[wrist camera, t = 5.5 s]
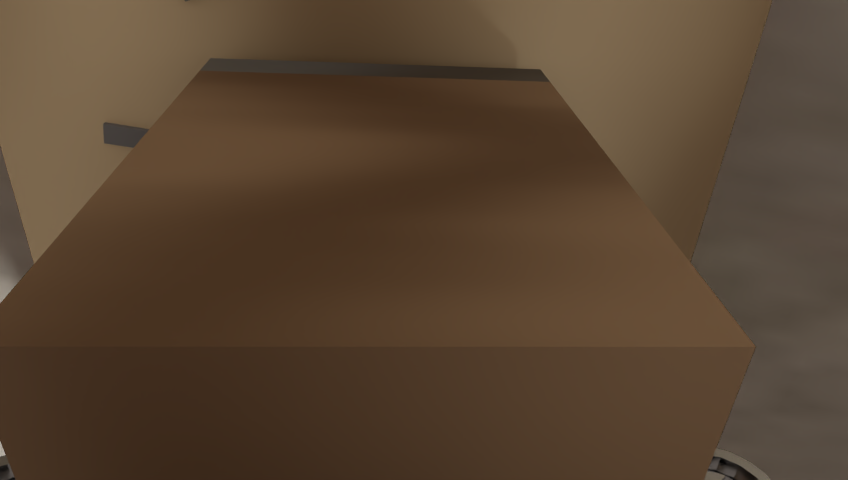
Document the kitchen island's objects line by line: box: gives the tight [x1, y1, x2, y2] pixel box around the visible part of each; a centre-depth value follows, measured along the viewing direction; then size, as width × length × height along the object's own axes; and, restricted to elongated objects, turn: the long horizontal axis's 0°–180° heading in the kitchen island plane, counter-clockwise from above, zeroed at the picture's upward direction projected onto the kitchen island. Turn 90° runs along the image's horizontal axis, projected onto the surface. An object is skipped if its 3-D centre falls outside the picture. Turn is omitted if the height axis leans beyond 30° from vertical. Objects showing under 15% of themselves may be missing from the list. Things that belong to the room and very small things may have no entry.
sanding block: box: [0, 58, 756, 480], centre depth 8 cm, size 4×8×6 cm, turn 177°
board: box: [0, 0, 773, 264], centre depth 10 cm, size 11×28×2 cm, turn 176°
